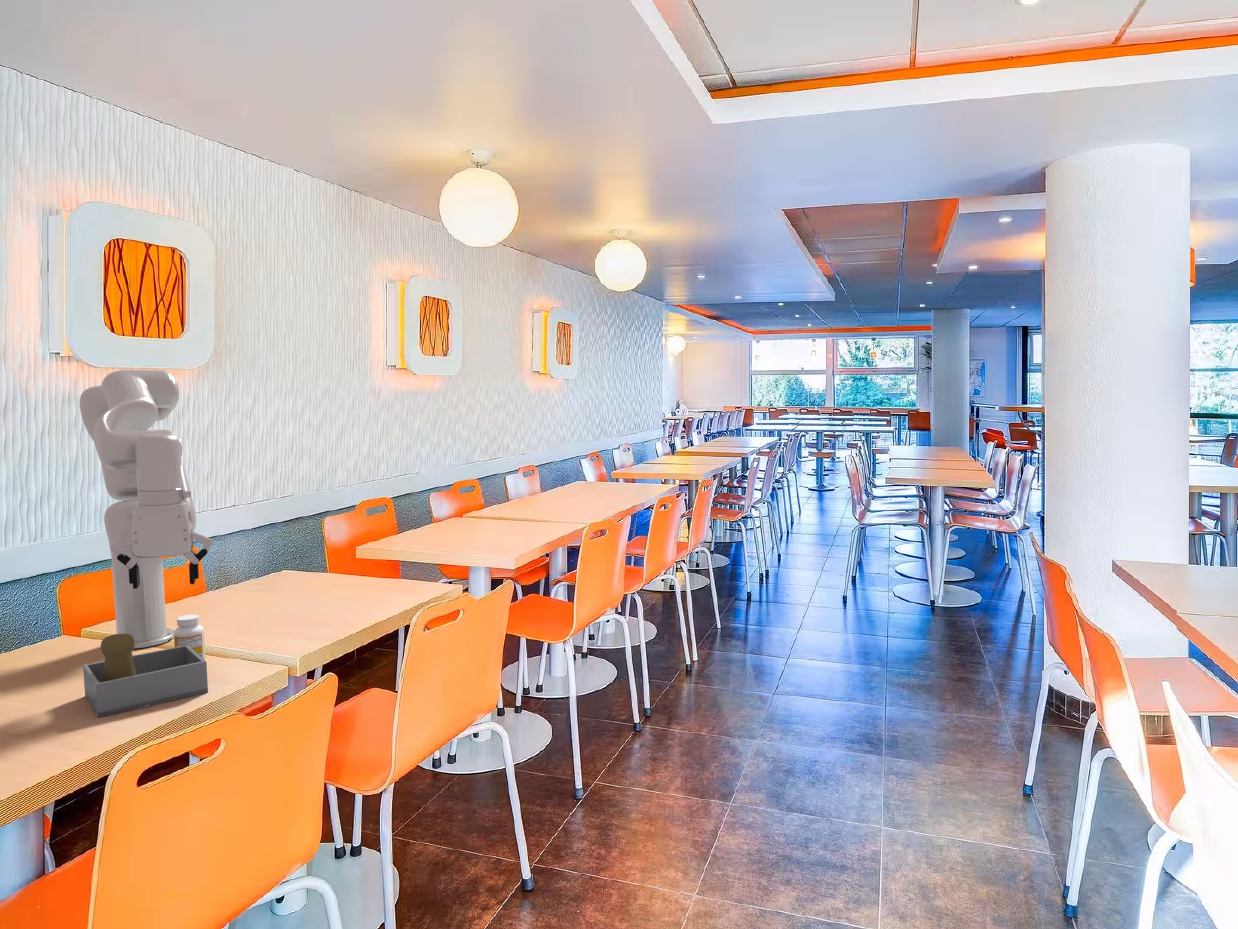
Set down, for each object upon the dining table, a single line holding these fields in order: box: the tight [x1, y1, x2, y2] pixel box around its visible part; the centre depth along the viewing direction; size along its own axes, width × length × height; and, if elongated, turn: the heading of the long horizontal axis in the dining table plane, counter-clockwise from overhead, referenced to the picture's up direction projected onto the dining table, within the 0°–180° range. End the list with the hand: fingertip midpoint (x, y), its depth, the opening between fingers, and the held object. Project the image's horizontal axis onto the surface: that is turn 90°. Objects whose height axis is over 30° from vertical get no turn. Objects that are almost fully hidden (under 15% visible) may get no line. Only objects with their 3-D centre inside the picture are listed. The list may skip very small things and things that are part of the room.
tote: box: [82, 645, 209, 719], centre depth 147 cm, size 13×17×6 cm
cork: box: [100, 633, 137, 682], centre depth 144 cm, size 6×6×11 cm
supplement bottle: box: [173, 614, 206, 661], centre depth 164 cm, size 5×5×10 cm
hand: (165, 584), depth 157 cm, fingers open, 9 cm apart
